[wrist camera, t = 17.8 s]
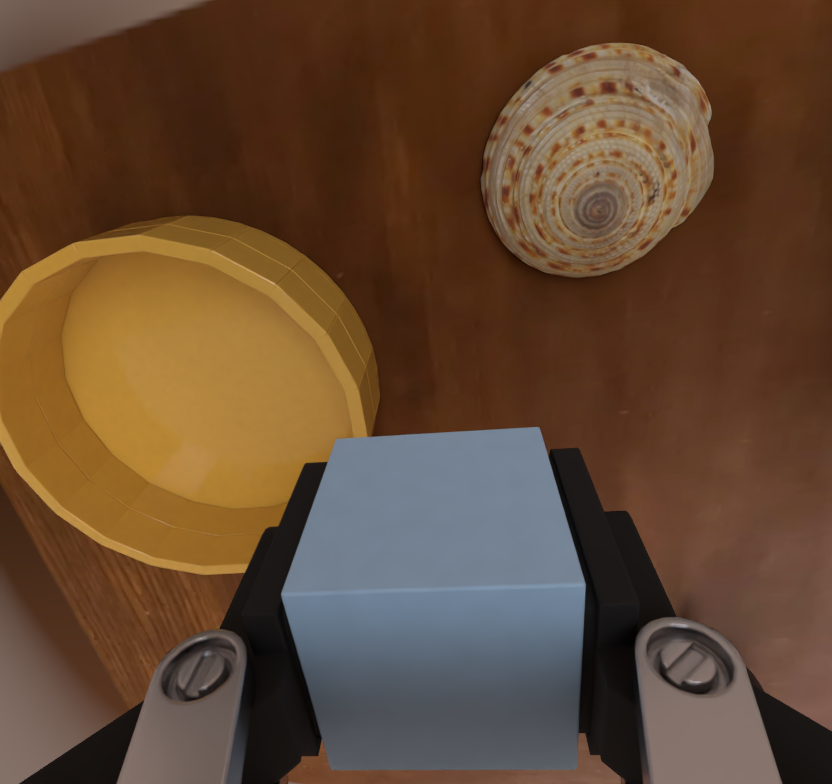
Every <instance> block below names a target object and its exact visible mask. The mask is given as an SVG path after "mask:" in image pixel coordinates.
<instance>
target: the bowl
mask: <svg viewBox="0 0 832 784" xmlns="http://www.w3.org/2000/svg"><path fill="white" fill-rule="evenodd" d="M379 388H380V387H379V376H378V367H377V363H376V359H375V354H374V350H373V347H372V344H371V342H370V339H369V336H368V334H367V331H366V329H365V327H364V325H363V323H362V321H361V319H360V317H359V316H358V314H357V312H356V310H355V308H354V307H353V306H352V304H351V303H350V301H349V300H348V299H347V297H346V296H345V294H344V293H343V292H342V290H341V289H340V288H339V287H338V286H337V285H336V284H335V283H334V281H333V280H332V279H331V278H330V277H329V276H328V275H327V274H326V273H325V272H324V271H323V270H322V269H321V268H319V267H318V266H317V265H316V264H315V263H314V262H312V261H311V260H310V259H309V258H308V257H306V256H305V255H304V254H302V253H301V252H299V251H298V250H296V249H295V248H293V247H292V246H290V245H288V244H287V243H285V242H284V241H282V240H280V239H278V238H276V237H274V236H272V235H270V234H268V233H266V232H264V231H261V230H258V229H255V228H253V227H250V226H247V225H244V224H241V223H238V222H234V221H229V220H225V219H220V218H215V217H204V216H192V215H191V216H171V217H164V218H159V219H154V220H149V221H141V222H135V223H131V224H128V225H125V226H122V227H119V228H116V229H113V230H110V231H107V232H105V233H101V234H98V235H95V236H92V237H89V238H86V239H83V240H80V241H77V242H74V243H72V244H70V245H68V246H66V247H64V248H63V249H61V250H59V251H57V252H55V253H54V254H52V255H50V256H48V257H46V258H45V259H43V260H41V261H39V262H37V263H36V264H34V265H32V266H30V267H28V268H26V269H25V270H23V271H22V272H21V273H20V274H19V275H18V277H17V278H16V280H15V281H14V282H13V284H12V285H11V286H10V288H9V289H8V291H7V292H6V293H5V295H4V296H3V297H2V299H1V300H0V443H1V445H2V446H3V448H4V450H5V452H6V454H7V456H8V458H9V459H10V461H11V463H12V465H13V467H14V469H15V470H16V472H17V473H18V474H19V475H20V476H21V477H22V478H23V479H24V480H25V481H26V483H27V484H28V485H29V486H30V487H31V488H32V489H33V490H34V491H35V492H36V493H37V494H38V496H39V497H40V498H41V499H42V500H43V501H44V502H45V503H46V504H47V505H48V506H49V507H50V509H51V510H52V511H54V512H55V513H56V514H57V515H58V516H60V517H61V518H63V519H64V520H66V521H67V522H69V523H70V524H72V525H73V526H74V527H76V528H77V529H79V530H80V531H82V532H83V533H85V534H86V535H87V536H89V537H90V538H92V539H93V540H95V541H96V542H98V543H99V544H101V545H103V546H105V547H107V548H110V549H112V550H115V551H117V552H120V553H122V554H124V555H127V556H129V557H132V558H134V559H136V560H139V561H141V562H144V563H146V564H148V565H152V566H156V567H162V568H168V569H173V570H179V571H184V572H190V573H195V574H201V575H203V574H204V575H213V574H231V573H245V571H246V569H247V567H248V565H249V563H250V560H251V558H252V556H253V554H254V551H255V549H256V547H257V545H258V543H259V540H260V538H261V536H262V534H263V532H264V531H265V529H266V528H268V527H272V526H278V525H279V523H280V521H281V518H282V516H283V513H284V511H285V509H286V506H287V504H288V502H289V499H290V497H291V494H292V492H293V490H294V487H295V485H296V483H297V480H298V478H299V475H300V473H301V471H302V468H303V466H304V464H305V463H314V462H328V460H329V457H330V454H331V451H332V449H333V446H334V443H335V440H336V439H343V438H360V437H373V433H374V428H375V422H376V417H377V411H378V406H379V401H380V392H379Z"/></svg>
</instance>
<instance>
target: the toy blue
mask: <svg viewBox="0 0 832 784" xmlns="http://www.w3.org/2000/svg"><path fill="white" fill-rule="evenodd" d="M585 591H586V583H585V580H584V577H583V573H582V570H581V566H580V563H579V560H578V556H577V553H576V549H575V546H574V543H573V539H572V536H571V532H570V529H569V526H568V522H567V519H566V515H565V512H564V509H563V505H562V502H561V498H560V495H559V492H558V488H557V485H556V481H555V478H554V475H553V471H552V468H551V464H550V461H549V458H548V454H547V451H546V447H545V444H544V441H543V437H542V434H541V430H540V428H539V427H529V428H512V429H495V430H478V431H461V432H444V433H427V434H410V435H394V436H377V437H360V438H343V439H336V440H335V443H334V446H333V449H332V451H331V454H330V457H329V460H328V463H327V465H326V468H325V471H324V474H323V477H322V480H321V482H320V485H319V488H318V491H317V494H316V497H315V499H314V502H313V505H312V508H311V511H310V513H309V516H308V519H307V522H306V525H305V528H304V530H303V533H302V536H301V539H300V542H299V545H298V547H297V550H296V553H295V556H294V559H293V561H292V564H291V567H290V570H289V573H288V576H287V578H286V581H285V584H284V587H283V590H282V593H281V597H282V600H283V604H284V607H285V611H286V614H287V618H288V621H289V625H290V628H291V632H292V635H293V639H294V642H295V646H296V649H297V653H298V656H299V660H300V663H301V667H302V670H303V674H304V677H305V681H306V684H307V688H308V691H309V695H310V698H311V702H312V705H313V709H314V712H315V716H316V719H317V723H318V726H319V730H320V733H321V737H322V740H323V744H324V747H325V751H326V754H327V758H328V761H329V765H330V768H331V769H332V770H574V769H576V768H577V754H578V734H579V714H580V693H581V673H582V652H583V632H584V611H585Z"/></svg>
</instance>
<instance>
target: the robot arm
mask: <svg viewBox="0 0 832 784" xmlns="http://www.w3.org/2000/svg"><path fill="white" fill-rule="evenodd" d="M548 458H549V461H550V464H551V468H552V471H553V475H554V478H555V481H556V485H557V488H558V492H559V495H560V498H561V502H562V505H563V509H564V512H565V515H566V519H567V522H568V526H569V529H570V532H571V536H572V539H573V543H574V546H575V549H576V553H577V556H578V560H579V563H580V566H581V570H582V573H583V577H584V580H585V583H586V591H585V611H584V632H583V652H582V673H581V693H580V714H579V733H586V738H587V742H588V747H589V751H590V755H600V756H601V760H602V762H603V763H605V764H606V765H607V766H608V767H609V768H611V769H612V770H613V771H614V772H616V773H617V774H618V775H619V776H620V777H621V784H832V731H830V730H828V729H827V728H825V727H823V726H822V725H820V724H818V723H816V722H815V721H813V720H811V719H810V718H808V717H806V716H805V715H803V714H801V713H799V712H798V711H796V710H794V709H793V708H791V707H789V706H787V705H786V704H784V703H782V702H781V701H779V700H777V699H776V698H774V697H772V696H770V695H769V694H767V693H765V692H764V691H762V690H760V689H759V688H757V687H755V686H753V685H752V684H751V683H750V679H749V676H748V673H747V670H746V667H745V664H744V662H743V660H742V658H741V656H740V654H739V652H738V651H737V650H736V648H735V647H734V646H733V645H732V644H731V643H730V642H729V641H728V640H727V639H726V638H725V637H724V636H722V635H721V634H720V633H718V632H717V631H715V630H714V629H713V628H711V627H708V626H706V625H704V624H702V623H699V622H697V621H694V620H689V619H685V618H681V617H676V614H675V612H674V610H673V608H672V606H671V603H670V601H669V599H668V597H667V595H666V593H665V590H664V588H663V586H662V584H661V582H660V579H659V577H658V575H657V573H656V571H655V568H654V566H653V564H652V562H651V560H650V558H649V555H648V553H647V551H646V549H645V547H644V544H643V542H642V540H641V538H640V536H639V533H638V531H637V529H636V527H635V525H634V523H633V520H632V518H631V517H630V515H629V513H628V512H626V511H610V512H604V510H603V508H602V505H601V503H600V500H599V498H598V495H597V493H596V490H595V488H594V485H593V483H592V480H591V478H590V475H589V472H588V470H587V467H586V465H585V462H584V460H583V457H582V455H581V452H580V450H579V448H567V449H551V450H550V454H549V457H548ZM327 463H328V462H314V463H305V464H304V466H303V468H302V471H301V473H300V475H299V478H298V480H297V483H296V485H295V487H294V490H293V492H292V494H291V497H290V499H289V502H288V504H287V506H286V509H285V511H284V513H283V516H282V518H281V521H280V523H279V525H278V526H272V527H268V528H266V529H265V531H264V532H263V534H262V536H261V538H260V540H259V543H258V545H257V547H256V549H255V551H254V554H253V556H252V558H251V560H250V563H249V565H248V567H247V569H246V571H245V574H244V576H243V578H242V580H241V582H240V585H239V587H238V589H237V591H236V594H235V596H234V598H233V600H232V602H231V605H230V607H229V609H228V611H227V614H226V616H225V618H224V620H223V622H222V625H221V627H220V629H215V630H207V631H204V632H200V633H197V634H194V635H192V636H190V637H189V638H187V639H185V640H183V641H181V642H180V643H179V644H177V645H176V646H175V647H174V648H172V649H171V650H170V651H169V652H168V653H167V654H166V655H165V657H164V658H163V659H162V660H161V661H160V663H159V664H158V666H157V668H156V670H155V672H154V674H153V676H152V679H151V682H150V685H149V688H148V691H147V694H146V697H145V700H144V701H143V702H141V703H140V704H138V705H137V706H135V707H134V708H132V709H131V710H129V711H128V712H126V713H125V714H123V715H122V716H120V717H119V718H117V719H116V720H114V721H113V722H111V723H110V724H108V725H107V726H105V727H104V728H102V729H101V730H99V731H98V732H96V733H95V734H93V735H92V736H90V737H89V738H87V739H86V740H84V741H83V742H81V743H80V744H78V745H77V746H75V747H74V748H72V749H71V750H69V751H68V752H66V753H65V754H63V755H62V756H60V757H58V758H57V759H55V760H54V761H52V762H51V763H49V764H48V765H46V766H45V767H43V768H42V769H40V770H39V771H38V772H36V773H35V774H33V775H31V776H30V777H28V778H27V779H25V780H24V781H23V782H21V783H20V784H288V772H289V771H291V770H292V769H293V768H294V767H295V766H296V765H298V764H299V763H300V761H301V757H302V756H318V754H319V749H320V745H321V740H322V737H321V733H320V730H319V726H318V723H317V719H316V716H315V712H314V709H313V705H312V702H311V698H310V695H309V691H308V688H307V684H306V681H305V677H304V674H303V670H302V667H301V663H300V660H299V656H298V653H297V649H296V646H295V642H294V639H293V635H292V632H291V628H290V625H289V621H288V618H287V614H286V611H285V607H284V604H283V600H282V597H281V593H282V590H283V587H284V584H285V581H286V578H287V576H288V573H289V570H290V567H291V564H292V561H293V559H294V556H295V553H296V550H297V547H298V545H299V542H300V539H301V536H302V533H303V530H304V528H305V525H306V522H307V519H308V516H309V513H310V511H311V508H312V505H313V502H314V499H315V497H316V494H317V491H318V488H319V485H320V482H321V480H322V477H323V474H324V471H325V468H326V465H327Z"/></svg>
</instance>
